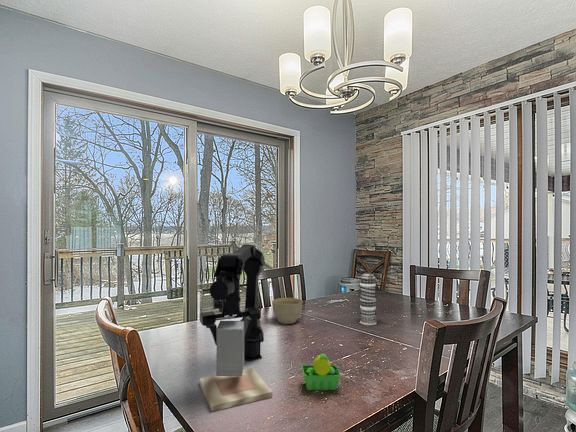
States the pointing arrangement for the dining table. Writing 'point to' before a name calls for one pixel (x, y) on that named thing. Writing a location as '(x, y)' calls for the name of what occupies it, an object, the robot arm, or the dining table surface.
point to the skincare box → (230, 348)
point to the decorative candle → (368, 299)
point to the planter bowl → (287, 309)
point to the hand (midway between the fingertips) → (230, 342)
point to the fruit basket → (321, 374)
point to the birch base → (234, 389)
